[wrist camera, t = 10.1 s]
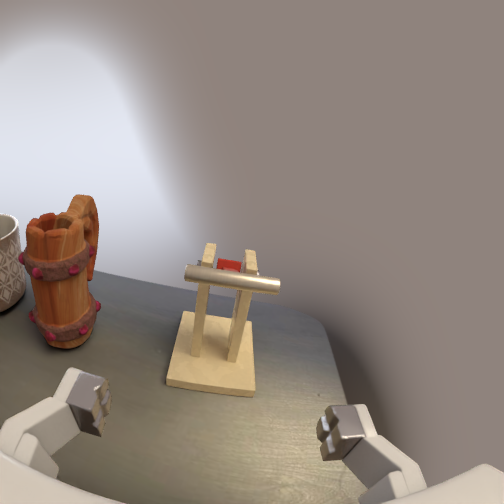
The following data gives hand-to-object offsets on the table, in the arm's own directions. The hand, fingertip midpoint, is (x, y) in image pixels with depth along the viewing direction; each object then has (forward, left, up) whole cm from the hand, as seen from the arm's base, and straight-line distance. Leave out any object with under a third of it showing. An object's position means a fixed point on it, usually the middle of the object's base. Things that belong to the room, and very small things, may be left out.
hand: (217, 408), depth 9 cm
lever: (+13, -5, -4) cm, 15 cm away
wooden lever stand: (+18, -7, -15) cm, 24 cm away
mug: (+25, +9, -16) cm, 31 cm away
